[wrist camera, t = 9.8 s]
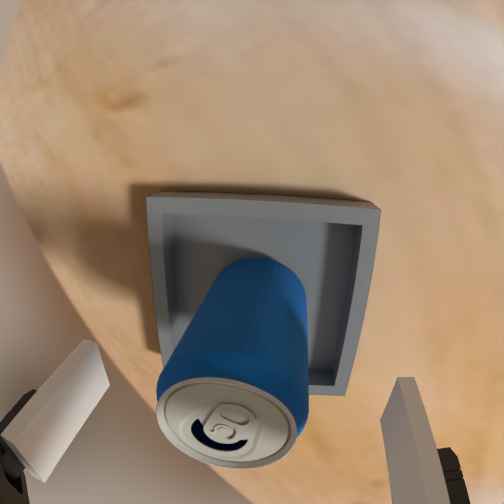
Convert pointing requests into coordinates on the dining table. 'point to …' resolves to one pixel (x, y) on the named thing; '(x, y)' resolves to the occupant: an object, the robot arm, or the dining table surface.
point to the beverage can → (240, 370)
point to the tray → (273, 247)
